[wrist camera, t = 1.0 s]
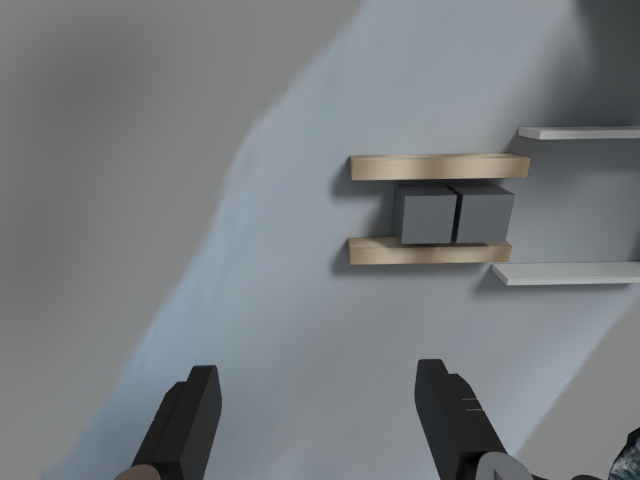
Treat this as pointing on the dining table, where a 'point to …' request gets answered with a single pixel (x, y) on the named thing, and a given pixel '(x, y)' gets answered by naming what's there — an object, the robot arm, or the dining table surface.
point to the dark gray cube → (480, 212)
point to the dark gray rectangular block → (423, 213)
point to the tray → (582, 270)
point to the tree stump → (628, 460)
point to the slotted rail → (432, 168)
